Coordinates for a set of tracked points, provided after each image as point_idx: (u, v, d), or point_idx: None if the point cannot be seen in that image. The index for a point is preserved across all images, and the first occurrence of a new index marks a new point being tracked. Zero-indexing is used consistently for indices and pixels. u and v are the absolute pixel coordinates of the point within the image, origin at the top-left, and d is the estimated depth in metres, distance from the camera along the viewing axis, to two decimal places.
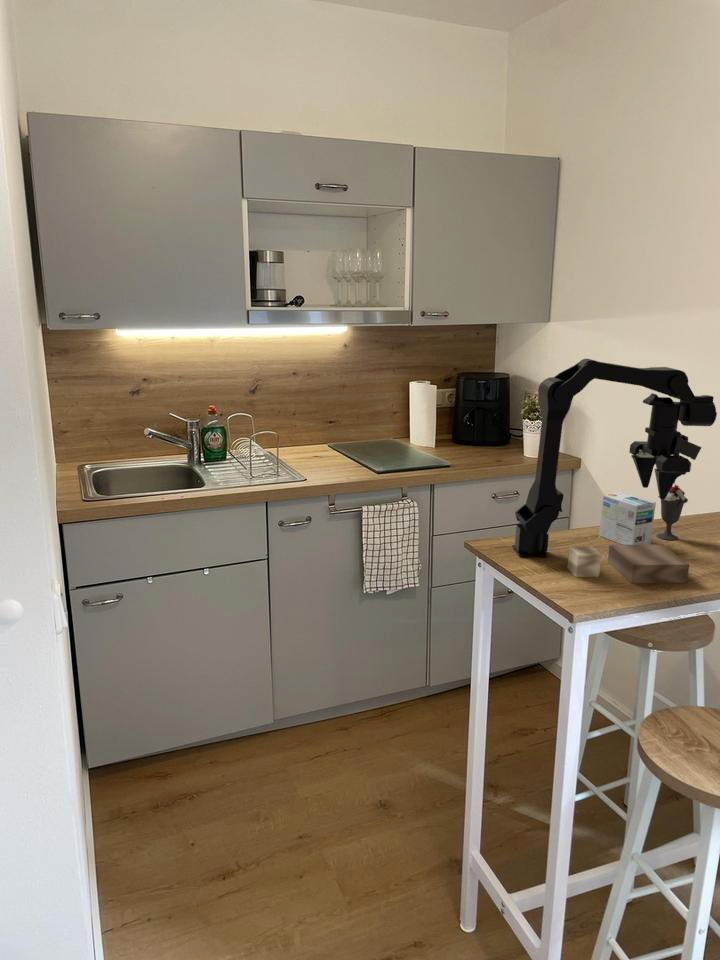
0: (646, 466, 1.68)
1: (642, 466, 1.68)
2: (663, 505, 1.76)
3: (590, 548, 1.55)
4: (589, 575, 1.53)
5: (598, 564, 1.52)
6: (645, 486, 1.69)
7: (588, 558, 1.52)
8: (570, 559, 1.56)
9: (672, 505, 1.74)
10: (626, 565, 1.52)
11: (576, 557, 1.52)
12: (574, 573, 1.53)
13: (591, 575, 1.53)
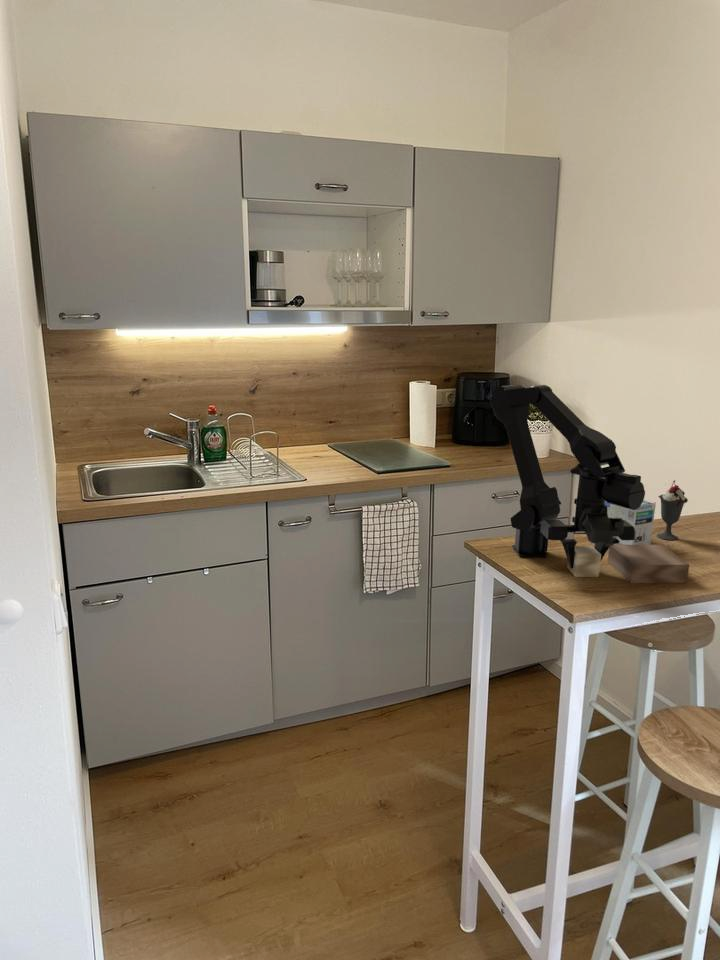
0: (598, 545, 1.54)
1: (596, 543, 1.55)
2: (663, 505, 1.76)
3: (590, 548, 1.55)
4: (589, 575, 1.53)
5: (598, 564, 1.52)
6: None
7: (588, 557, 1.52)
8: None
9: (672, 505, 1.74)
10: (626, 565, 1.52)
11: (576, 557, 1.52)
12: (574, 573, 1.53)
13: (591, 575, 1.53)
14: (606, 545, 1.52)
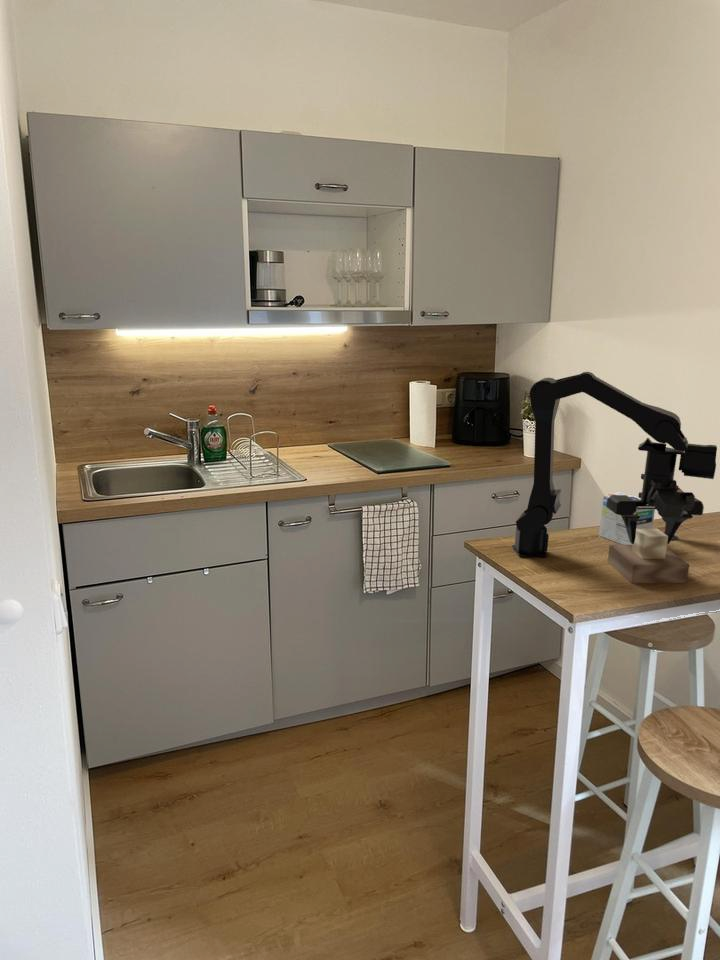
0: (670, 520, 1.54)
1: (668, 519, 1.55)
2: None
3: (655, 530, 1.55)
4: (655, 556, 1.53)
5: (665, 545, 1.52)
6: None
7: (655, 539, 1.52)
8: (635, 541, 1.56)
9: None
10: (626, 565, 1.52)
11: (643, 538, 1.52)
12: (640, 555, 1.53)
13: (657, 556, 1.53)
14: (679, 520, 1.52)
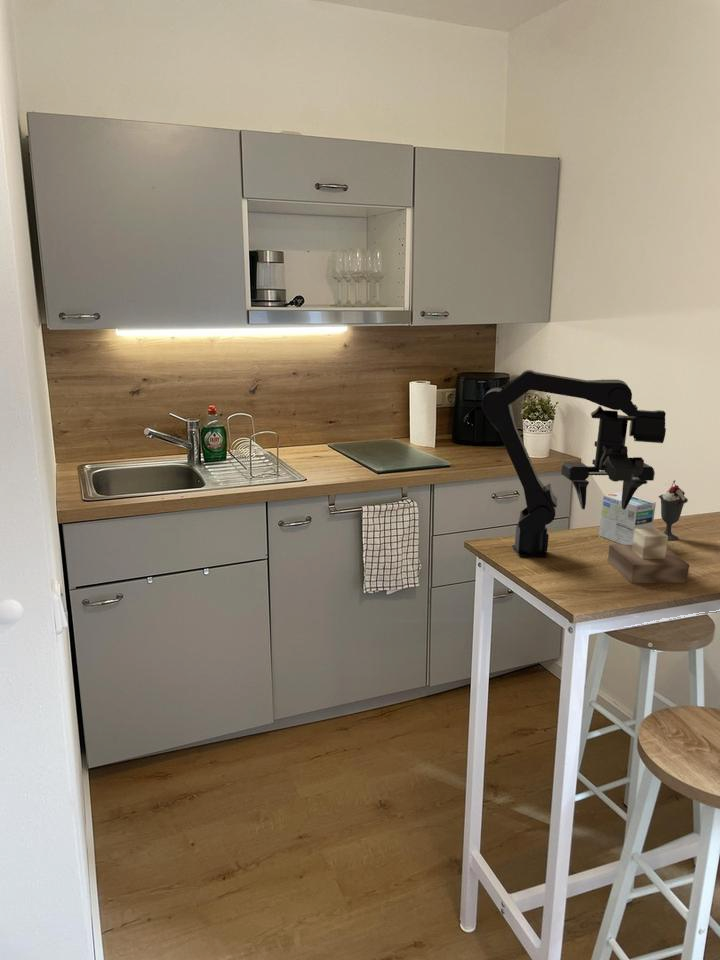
0: (626, 486, 1.59)
1: (624, 485, 1.60)
2: (663, 505, 1.76)
3: (655, 530, 1.55)
4: (655, 556, 1.53)
5: (665, 545, 1.52)
6: (623, 507, 1.60)
7: (655, 539, 1.52)
8: (635, 541, 1.56)
9: (672, 505, 1.74)
10: (626, 565, 1.52)
11: (643, 538, 1.52)
12: (640, 555, 1.53)
13: (657, 556, 1.53)
14: (634, 486, 1.56)
